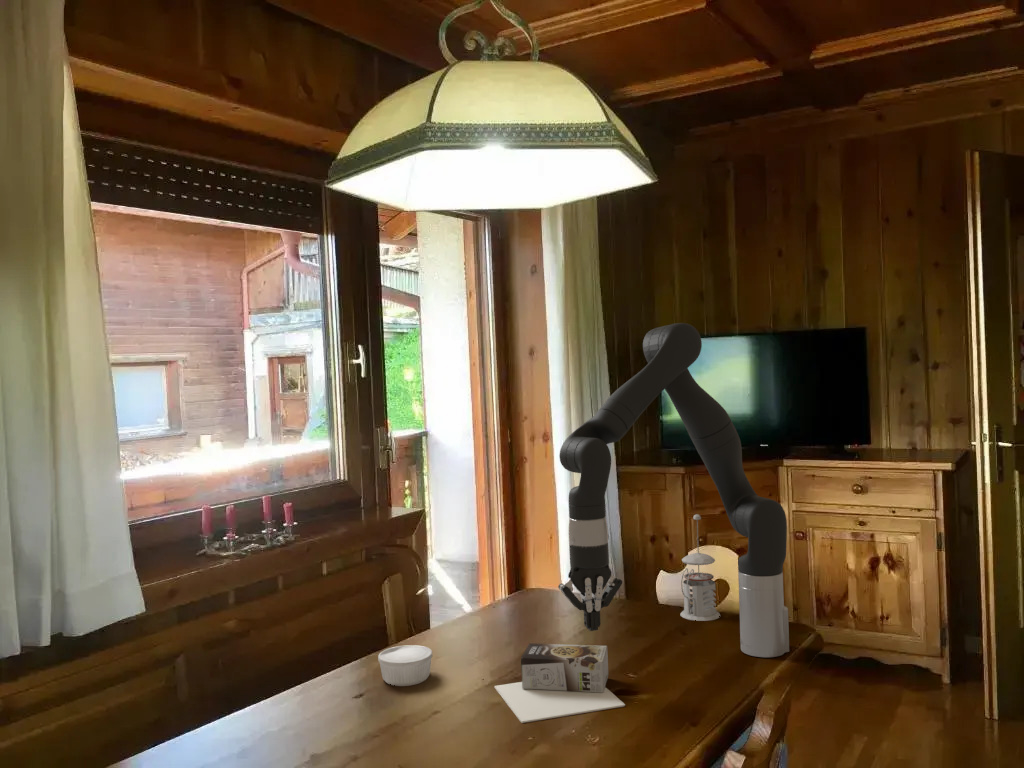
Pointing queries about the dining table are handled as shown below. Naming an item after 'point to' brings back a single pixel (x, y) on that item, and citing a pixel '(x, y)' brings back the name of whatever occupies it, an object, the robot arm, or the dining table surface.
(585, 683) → the coffee box
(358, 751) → the dining table surface
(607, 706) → the mat
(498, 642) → the dining table surface
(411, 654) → the ramekin
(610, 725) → the dining table surface
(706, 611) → the french press
